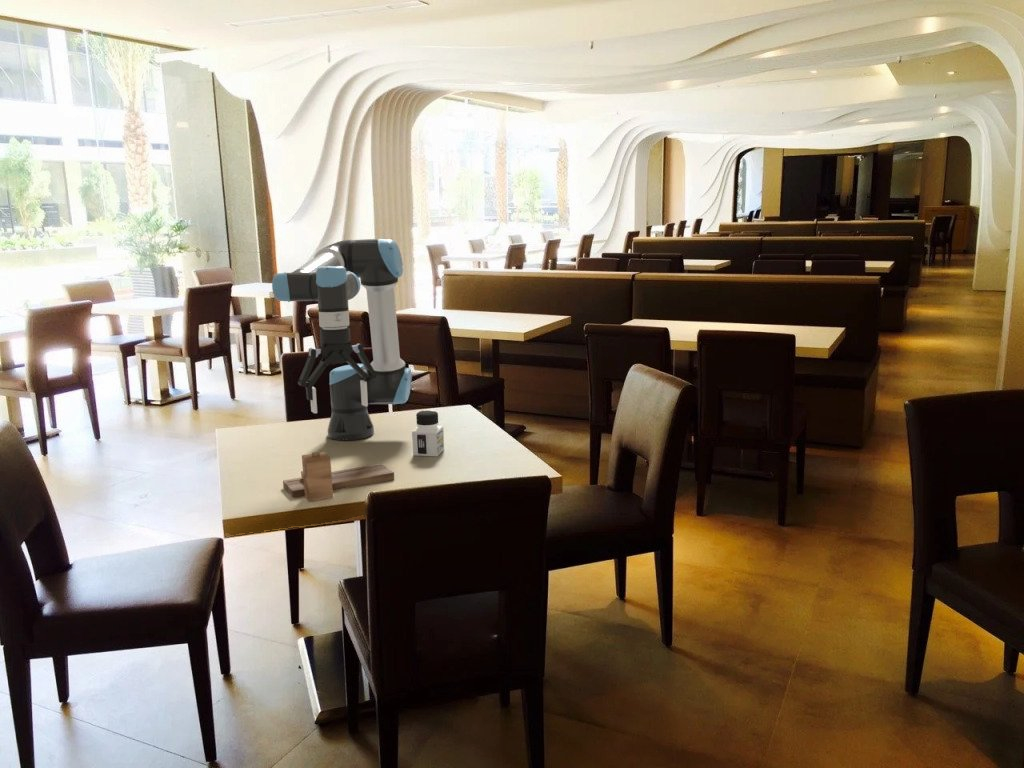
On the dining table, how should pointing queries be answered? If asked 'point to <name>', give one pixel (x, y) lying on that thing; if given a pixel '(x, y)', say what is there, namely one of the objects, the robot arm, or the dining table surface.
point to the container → (427, 434)
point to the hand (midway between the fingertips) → (339, 408)
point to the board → (345, 479)
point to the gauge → (317, 476)
